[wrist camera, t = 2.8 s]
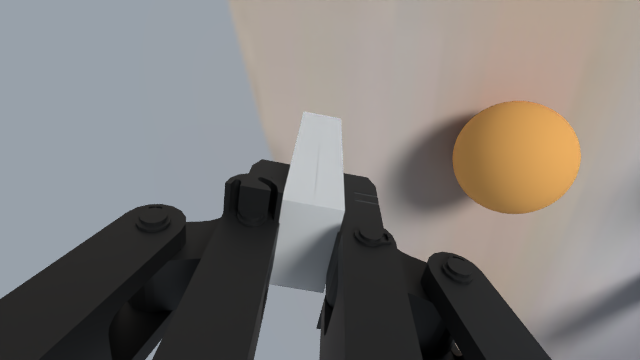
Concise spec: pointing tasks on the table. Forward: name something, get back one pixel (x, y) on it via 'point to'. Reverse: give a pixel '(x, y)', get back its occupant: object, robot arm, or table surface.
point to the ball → (516, 157)
